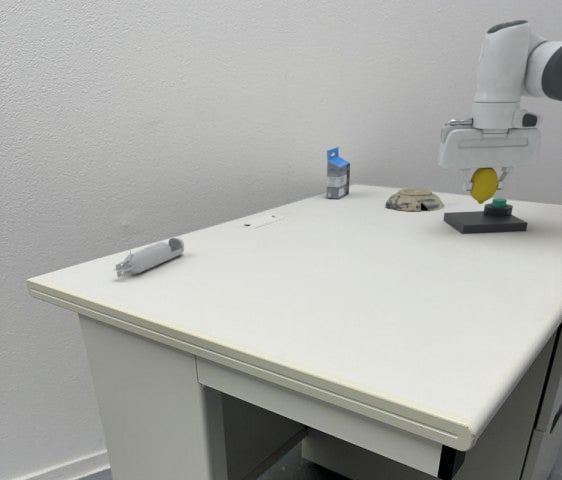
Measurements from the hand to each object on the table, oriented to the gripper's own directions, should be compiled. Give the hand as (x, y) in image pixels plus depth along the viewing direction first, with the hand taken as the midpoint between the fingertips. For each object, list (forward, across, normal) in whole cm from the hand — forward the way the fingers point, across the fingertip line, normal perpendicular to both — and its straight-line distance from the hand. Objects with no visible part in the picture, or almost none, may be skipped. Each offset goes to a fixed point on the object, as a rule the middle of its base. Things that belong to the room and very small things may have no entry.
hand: (482, 189), depth 115 cm
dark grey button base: (+8, +2, +2) cm, 9 cm away
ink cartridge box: (+8, -24, +42) cm, 48 cm away
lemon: (+3, 0, 0) cm, 3 cm away
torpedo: (+8, -68, -16) cm, 71 cm away
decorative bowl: (+8, -7, +26) cm, 28 cm away
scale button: (+5, +7, +6) cm, 11 cm away
